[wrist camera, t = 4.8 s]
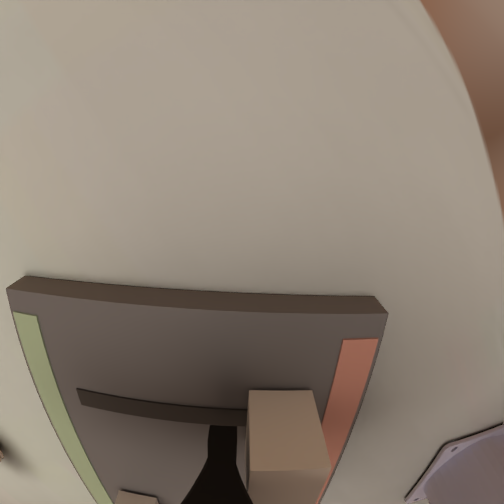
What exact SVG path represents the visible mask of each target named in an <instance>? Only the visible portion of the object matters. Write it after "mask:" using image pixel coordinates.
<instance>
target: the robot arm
mask: <svg viewBox="0 0 504 504" xmlns="http://www.w3.org/2000/svg"><path fill="white" fill-rule="evenodd" d="M207 447H208V458H207V460H206V462H205V464H204V466H203V468H202V470H201V472H200V474H199V476H198V477H197V479H196V481H195V483H194V484H193V486H192V488H191V489H190V491H189V492H188V494H187V495H186V497H185V498H184V500H183V501H182V502H181V504H253V502H252V500H251V499H250V496H249V494H248V492H247V490H246V488H245V486H244V483H243V481H242V479H241V476H240V473H239V470H238V468H237V465H236V459H237V426H220V425H210V427H209V433H208V440H207ZM425 498H427V499H428V501H429V503H430V504H504V424H503V425H500V426H498V427H495V428H492V429H490V430H487V431H484V432H482V433H479V434H476V435H473V436H470V437H467V438H464V439H461V440H458V441H455V442H451V443H448V444H446V445H445V446H444V447H443V448H442V449H441V451H440V452H439V454H438V455H437V457H436V458H435V460H434V461H433V463H432V464H431V466H430V467H429V468H428V470H427V471H426V473H425V474H424V475H423V477H422V478H421V479H420V481H419V482H418V483H417V485H416V486H415V487H414V489H413V490H412V491H411V492H410V494H409V495H408V496H407V497H406V499H405V502H406V503H407V504H408V503H412V502H415V501H419V500H422V499H425Z"/></svg>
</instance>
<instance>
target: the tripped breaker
mask: <svg viewBox="0 0 504 504" xmlns="http://www.w3.org/2000/svg"><path fill="white" fill-rule="evenodd" d="M331 468H332V467H331V463H330V459H329V455H328V451H327V447H326V443H325V439H324V435H323V431H322V427H321V423H320V419H319V415H318V411H317V407H316V403H315V399H314V396H313V392H312V390H294V391H268V390H249V396H248V411H247V425H246V440H245V488H246V490H247V492H248V494H249V496H250V499H251V500H252V502H253V504H315V503H316V501H317V499H318V497H319V495H320V492H321V490H322V488H323V486H324V484H325V481H326V479H327V477H328V475H329V472H330V470H331Z"/></svg>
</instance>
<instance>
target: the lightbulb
mask: <svg viewBox="0 0 504 504" xmlns="http://www.w3.org/2000/svg"><path fill="white" fill-rule="evenodd" d="M3 458H4V455H3V453H2V451H1V449H0V462H1V459H3Z"/></svg>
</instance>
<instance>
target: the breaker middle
mask: <svg viewBox="0 0 504 504" xmlns="http://www.w3.org/2000/svg"><path fill="white" fill-rule="evenodd" d="M115 504H159V503H158V501H157V498H154V497H149V496H143V495H138V494H133V493H129V492H124V491H120V490H119V492H118V495H117V498H116V501H115Z"/></svg>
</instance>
